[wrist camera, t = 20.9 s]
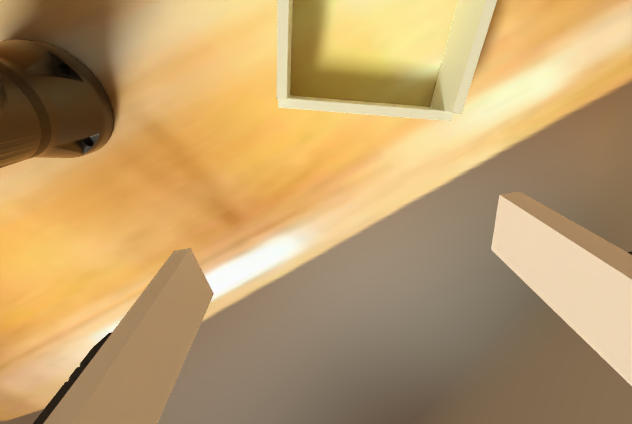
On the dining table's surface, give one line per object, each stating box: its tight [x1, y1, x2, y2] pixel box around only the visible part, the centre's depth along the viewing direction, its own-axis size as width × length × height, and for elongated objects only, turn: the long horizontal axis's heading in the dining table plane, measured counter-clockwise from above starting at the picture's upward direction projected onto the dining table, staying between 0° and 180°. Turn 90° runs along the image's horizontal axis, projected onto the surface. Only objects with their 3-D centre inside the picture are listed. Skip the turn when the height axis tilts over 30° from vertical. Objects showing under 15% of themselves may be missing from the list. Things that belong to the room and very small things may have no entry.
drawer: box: [277, 0, 497, 121], centre depth 31 cm, size 23×19×9 cm
